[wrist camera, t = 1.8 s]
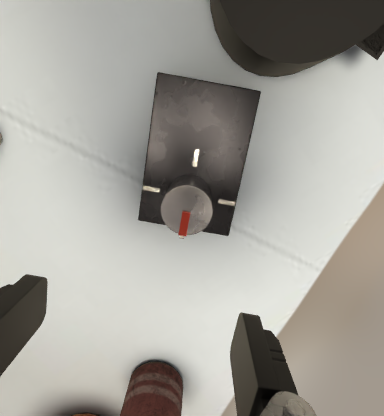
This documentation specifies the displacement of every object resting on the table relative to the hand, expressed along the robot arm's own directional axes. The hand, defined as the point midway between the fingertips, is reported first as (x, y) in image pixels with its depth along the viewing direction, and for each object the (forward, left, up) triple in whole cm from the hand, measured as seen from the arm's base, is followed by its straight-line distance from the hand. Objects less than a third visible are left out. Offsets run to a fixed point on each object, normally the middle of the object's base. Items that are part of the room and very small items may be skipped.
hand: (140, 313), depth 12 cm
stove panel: (-5, +1, -17) cm, 17 cm away
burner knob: (-2, +1, -14) cm, 14 cm away
